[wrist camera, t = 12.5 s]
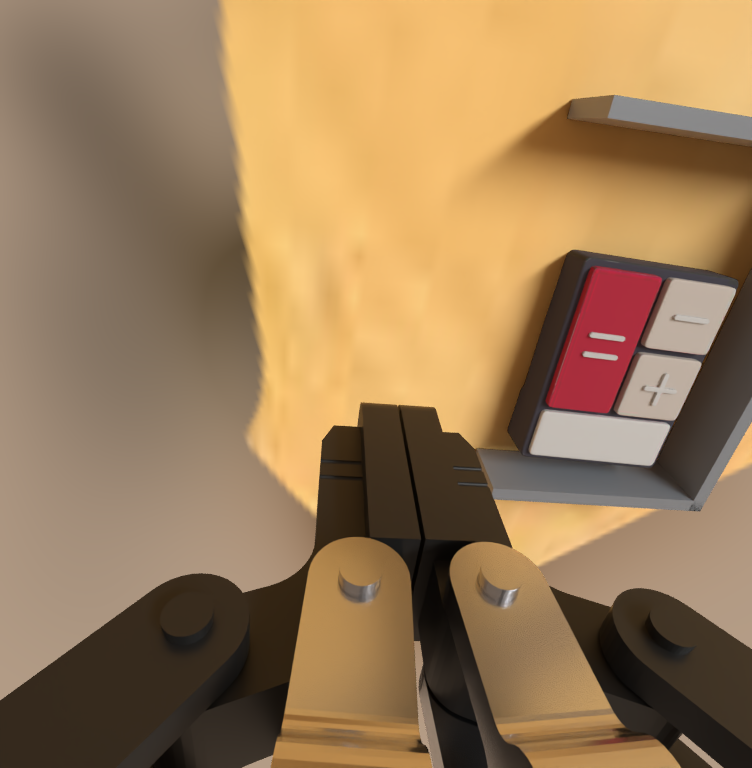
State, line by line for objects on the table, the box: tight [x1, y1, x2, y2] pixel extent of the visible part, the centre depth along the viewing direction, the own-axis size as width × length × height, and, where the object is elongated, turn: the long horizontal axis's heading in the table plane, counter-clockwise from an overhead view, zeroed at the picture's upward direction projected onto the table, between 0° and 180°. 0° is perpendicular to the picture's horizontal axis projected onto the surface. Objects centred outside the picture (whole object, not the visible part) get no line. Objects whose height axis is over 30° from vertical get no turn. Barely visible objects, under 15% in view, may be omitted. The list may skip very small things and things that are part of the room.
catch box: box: [476, 95, 752, 511], centre depth 33 cm, size 26×17×5 cm, turn 173°
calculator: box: [508, 250, 739, 468], centre depth 35 cm, size 11×4×15 cm
